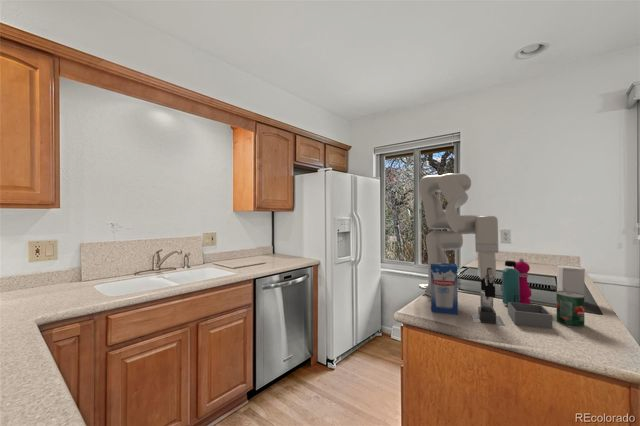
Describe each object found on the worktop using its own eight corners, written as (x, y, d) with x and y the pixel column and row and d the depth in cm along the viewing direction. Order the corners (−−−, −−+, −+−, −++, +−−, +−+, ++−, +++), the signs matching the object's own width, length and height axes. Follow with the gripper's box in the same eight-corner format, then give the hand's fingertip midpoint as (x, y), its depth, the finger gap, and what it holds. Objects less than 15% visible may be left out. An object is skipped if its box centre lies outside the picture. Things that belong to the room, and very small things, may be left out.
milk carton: (431, 313, 117) (430, 265, 117) (430, 308, 123) (430, 262, 123) (458, 316, 114) (457, 266, 114) (456, 311, 120) (456, 263, 119)
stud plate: (473, 324, 106) (473, 314, 106) (470, 314, 116) (470, 305, 116) (505, 328, 102) (505, 317, 102) (499, 318, 112) (499, 308, 112)
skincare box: (561, 301, 130) (561, 267, 129) (556, 297, 136) (556, 264, 136) (585, 303, 127) (585, 268, 126) (578, 299, 133) (578, 266, 132)
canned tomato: (587, 329, 100) (587, 298, 100) (558, 325, 104) (558, 295, 104) (581, 321, 107) (581, 292, 107) (554, 317, 111) (554, 289, 111)
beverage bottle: (514, 310, 119) (514, 263, 119) (498, 306, 125) (498, 260, 125) (523, 308, 122) (523, 261, 122) (507, 303, 128) (507, 259, 128)
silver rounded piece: (480, 320, 108) (479, 294, 107) (478, 315, 112) (478, 290, 112) (496, 322, 106) (495, 295, 105) (493, 317, 110) (493, 291, 110)
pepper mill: (525, 299, 133) (525, 257, 133) (535, 305, 126) (535, 259, 126) (508, 299, 134) (508, 257, 134) (518, 304, 127) (517, 259, 126)
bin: (514, 326, 103) (514, 311, 103) (507, 316, 114) (507, 302, 114) (552, 331, 99) (552, 315, 99) (541, 319, 109) (541, 305, 109)
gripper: (473, 245, 118) (474, 287, 118) (478, 250, 102) (479, 298, 102) (494, 246, 115) (495, 288, 115) (503, 251, 99) (504, 300, 99)
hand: (487, 293), depth 108 cm, fingers open, 9 cm apart
